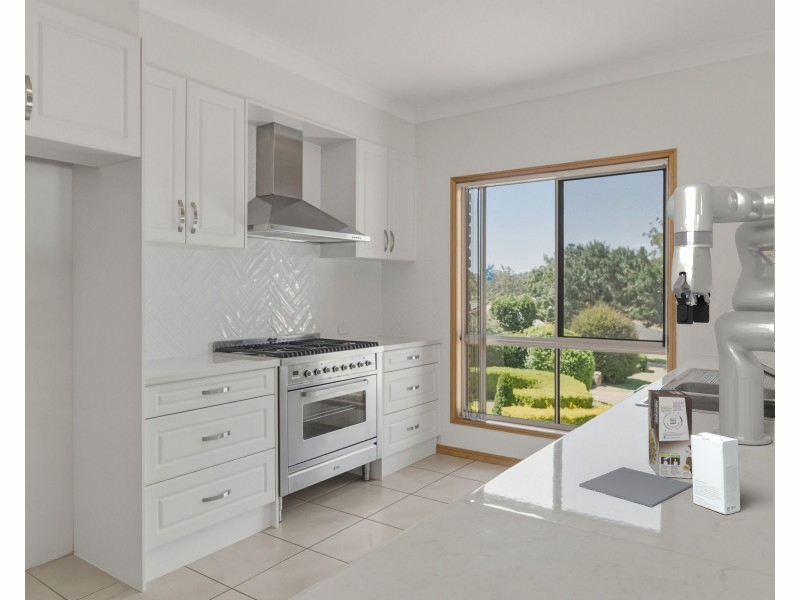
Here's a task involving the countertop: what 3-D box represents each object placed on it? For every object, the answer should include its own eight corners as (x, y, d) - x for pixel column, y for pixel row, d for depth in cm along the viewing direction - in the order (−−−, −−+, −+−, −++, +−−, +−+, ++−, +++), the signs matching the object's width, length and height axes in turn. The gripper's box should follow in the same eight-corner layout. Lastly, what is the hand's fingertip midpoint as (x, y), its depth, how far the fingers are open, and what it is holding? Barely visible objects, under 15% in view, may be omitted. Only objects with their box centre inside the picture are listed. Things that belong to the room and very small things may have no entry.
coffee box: (693, 479, 110) (693, 396, 110) (658, 477, 111) (657, 396, 111) (680, 465, 119) (679, 389, 119) (647, 463, 120) (647, 388, 120)
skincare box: (741, 511, 94) (741, 438, 94) (724, 516, 92) (723, 442, 92) (707, 499, 99) (707, 430, 99) (690, 503, 97) (689, 433, 97)
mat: (622, 468, 117) (622, 466, 117) (692, 486, 106) (692, 484, 106) (579, 486, 107) (579, 484, 107) (651, 507, 96) (651, 504, 96)
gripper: (692, 244, 130) (692, 321, 130) (656, 240, 119) (656, 324, 119) (727, 242, 125) (727, 322, 125) (693, 237, 113) (693, 325, 114)
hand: (693, 322), depth 122 cm, fingers open, 7 cm apart
